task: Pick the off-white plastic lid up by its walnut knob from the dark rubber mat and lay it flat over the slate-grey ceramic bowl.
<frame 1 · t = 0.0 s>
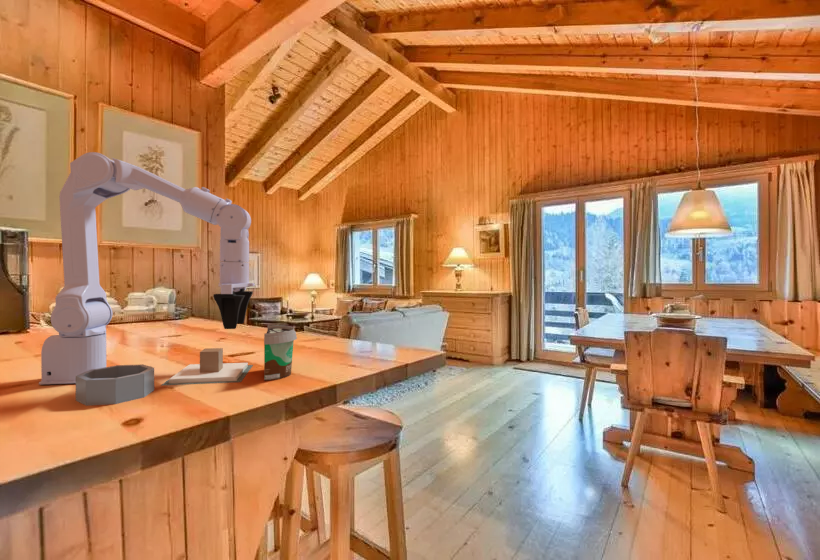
hand: (234, 326, 86), 10 cm above the worktop, tool pointing down, fingers open, 7 cm apart
mat: (211, 376, 83), on the worktop
food container: (281, 377, 84), on the worktop
lid: (211, 374, 83), resting on mat
bowl: (116, 397, 69), on the worktop
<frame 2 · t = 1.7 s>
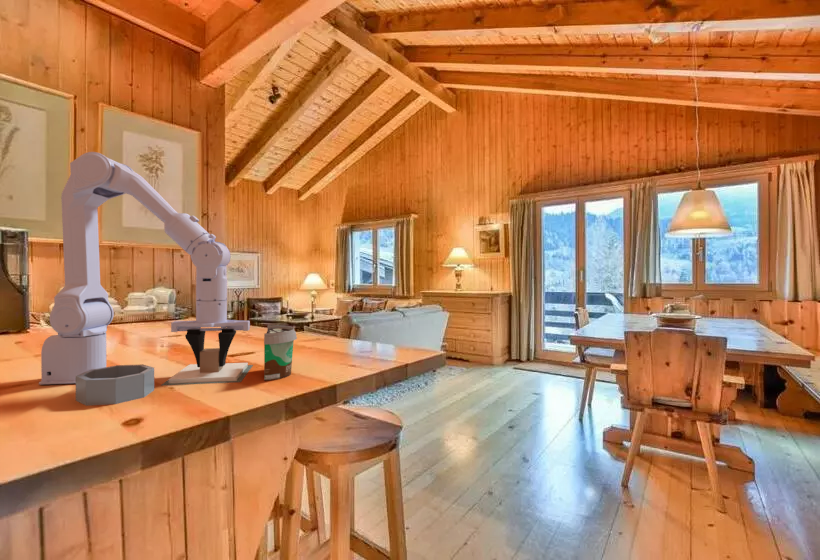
hand: (211, 365, 83), 2 cm above the worktop, tool pointing down, fingers closed on lid, 3 cm apart
lid: (211, 374, 83), resting on mat, touching gripper
everything else where it was.
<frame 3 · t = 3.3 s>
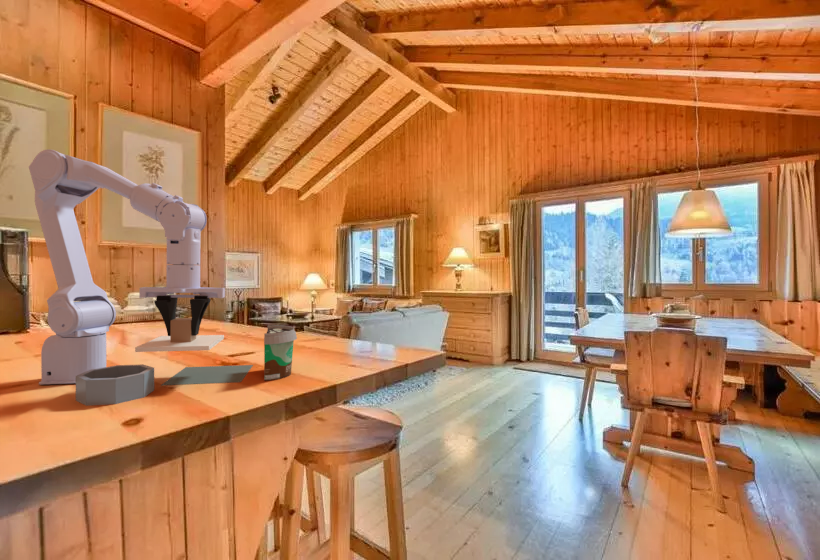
hand: (183, 335, 78), 9 cm above the worktop, tool pointing down, fingers closed on lid, 3 cm apart
lid: (183, 344, 78), point 7 cm above the worktop, touching gripper
everything else where it was.
when the fingers open (7 cm above the worktop, at t = 4.7 s): lid stays where it is, resting on bowl.
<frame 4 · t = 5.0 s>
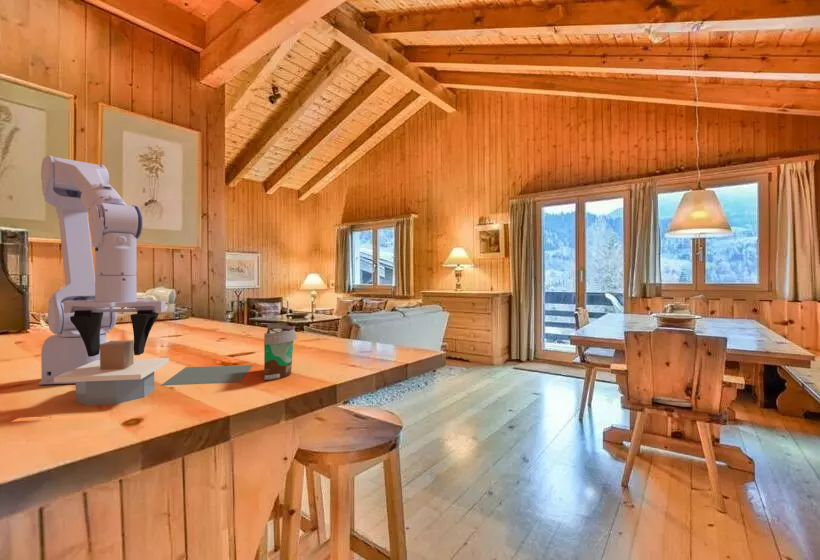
hand: (116, 354, 69), 7 cm above the worktop, tool pointing down, fingers open, 6 cm apart
lid: (117, 371, 69), point 4 cm above the worktop, touching bowl
bowl: (116, 397, 69), on the worktop, touching lid
everything else where it was.
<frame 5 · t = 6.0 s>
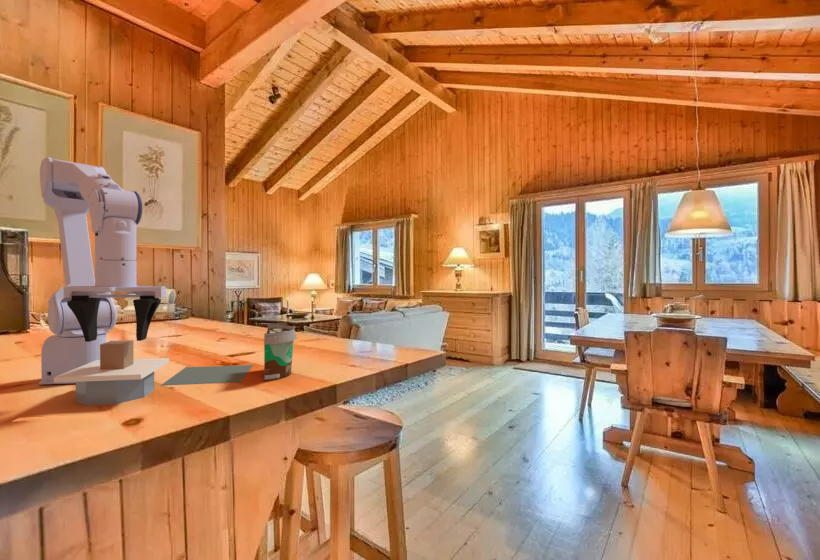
hand: (116, 340, 69), 10 cm above the worktop, tool pointing down, fingers open, 7 cm apart
nothing on the worktop moved.
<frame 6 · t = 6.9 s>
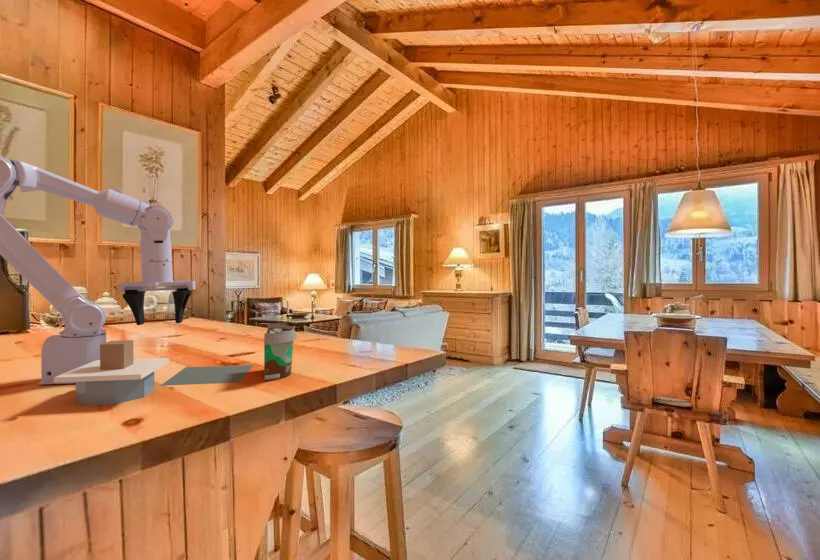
hand: (160, 323, 89), 10 cm above the worktop, tool pointing down, fingers open, 7 cm apart
nothing on the worktop moved.
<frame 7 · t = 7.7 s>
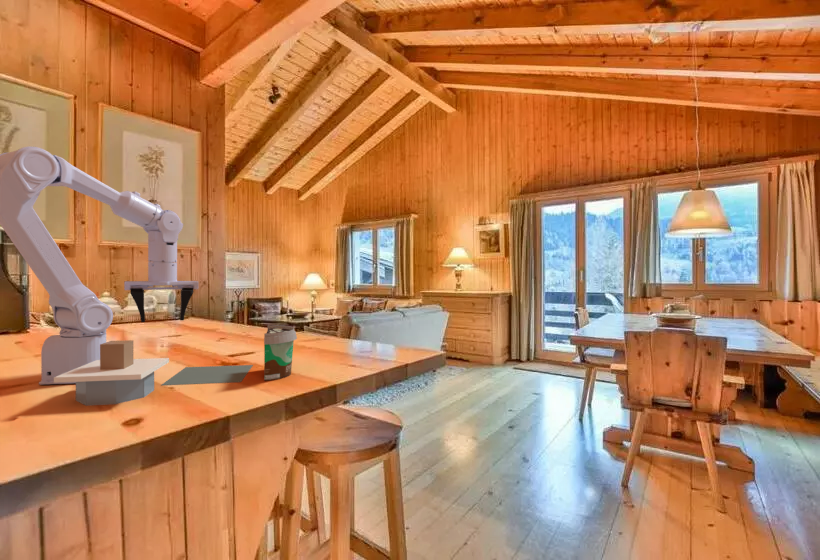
hand: (162, 320, 94), 10 cm above the worktop, tool pointing down, fingers open, 7 cm apart
nothing on the worktop moved.
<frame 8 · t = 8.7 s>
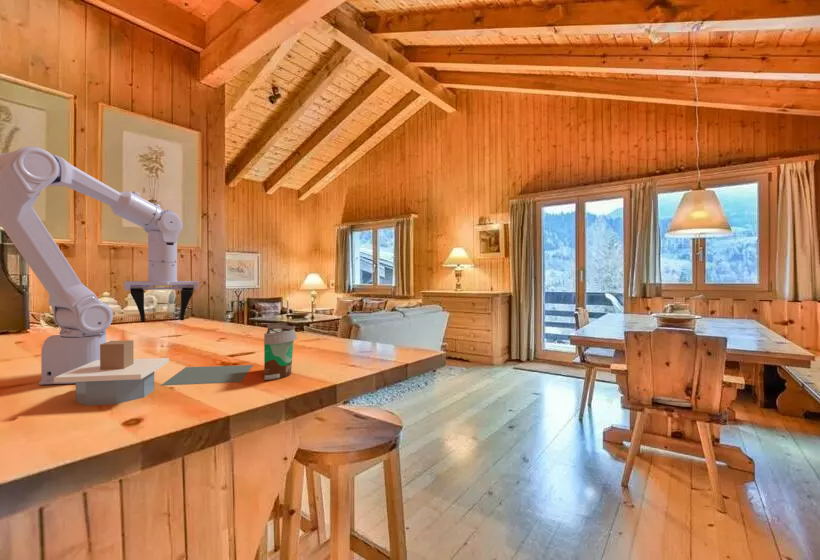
hand: (162, 320, 94), 10 cm above the worktop, tool pointing down, fingers open, 7 cm apart
nothing on the worktop moved.
at the end: lid 0.2 cm off-centre on the bowl, point 4.5 cm above the bowl's base; lid tilted 0°; the gripper is holding nothing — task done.
